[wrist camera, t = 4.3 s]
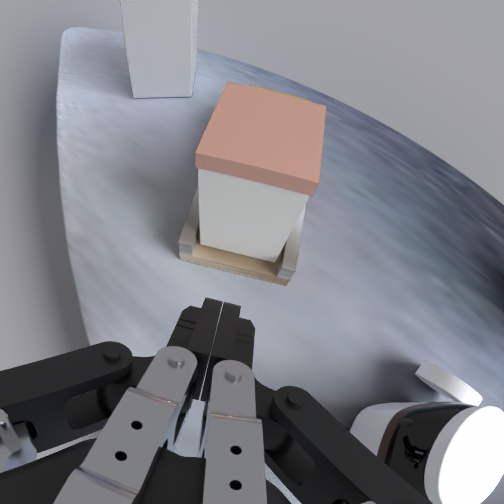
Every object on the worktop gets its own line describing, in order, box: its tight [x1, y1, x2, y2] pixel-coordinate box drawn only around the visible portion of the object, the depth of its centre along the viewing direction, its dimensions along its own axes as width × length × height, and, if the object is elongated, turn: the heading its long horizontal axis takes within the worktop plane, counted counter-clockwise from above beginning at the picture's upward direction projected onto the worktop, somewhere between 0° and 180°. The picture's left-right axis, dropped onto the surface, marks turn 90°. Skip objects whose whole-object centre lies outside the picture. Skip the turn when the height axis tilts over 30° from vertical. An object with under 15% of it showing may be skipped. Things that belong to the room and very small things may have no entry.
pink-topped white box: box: [195, 82, 326, 263], centre depth 21 cm, size 6×6×11 cm
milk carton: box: [120, 0, 198, 98], centre depth 26 cm, size 7×7×19 cm
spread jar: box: [350, 361, 504, 504], centre depth 17 cm, size 12×11×12 cm
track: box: [178, 85, 309, 286], centre depth 28 cm, size 18×9×6 cm, turn 168°
